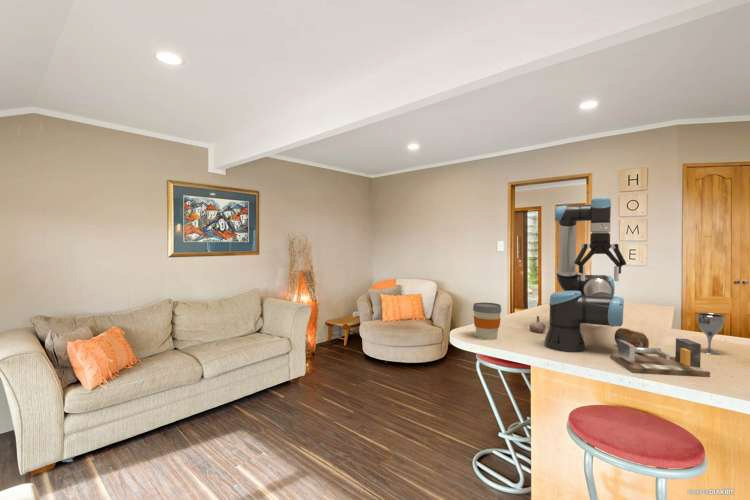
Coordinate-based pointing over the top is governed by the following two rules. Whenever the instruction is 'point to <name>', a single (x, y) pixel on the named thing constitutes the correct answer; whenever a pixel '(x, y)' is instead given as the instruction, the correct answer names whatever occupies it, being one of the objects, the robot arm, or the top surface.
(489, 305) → the reusable coffee cup
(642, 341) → the brown oval slab
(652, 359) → the gauge bench
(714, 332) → the wine glass
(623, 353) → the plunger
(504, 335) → the top surface
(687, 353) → the pointer
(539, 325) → the garlic bulb
